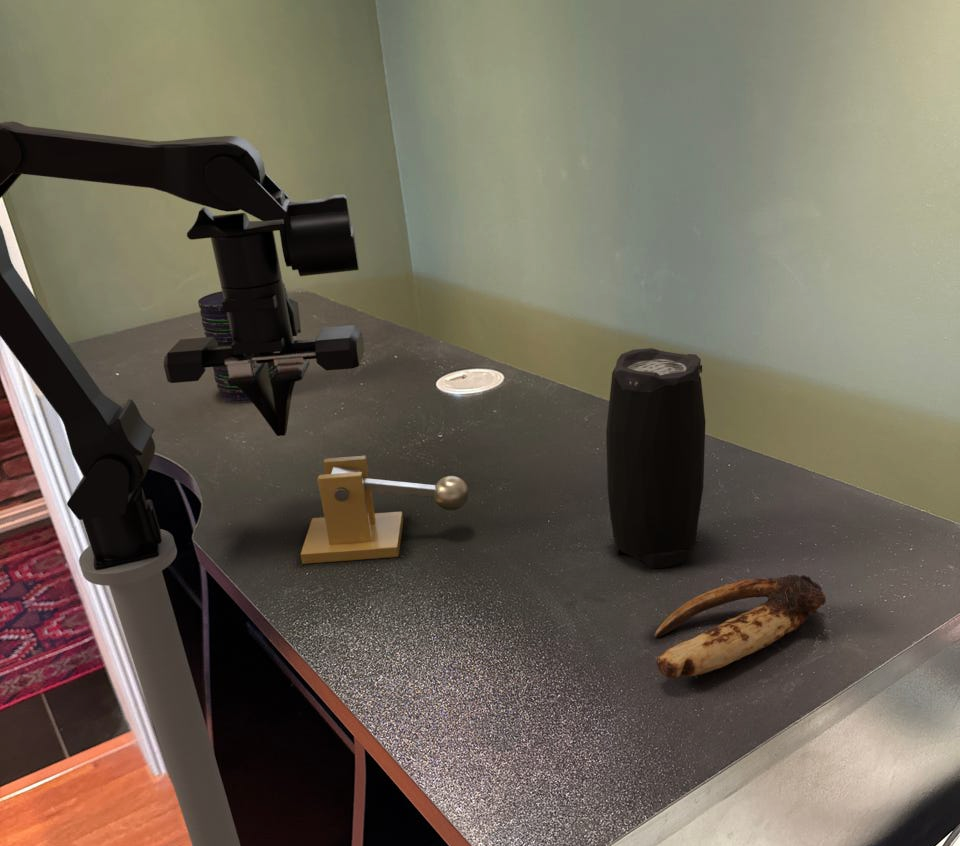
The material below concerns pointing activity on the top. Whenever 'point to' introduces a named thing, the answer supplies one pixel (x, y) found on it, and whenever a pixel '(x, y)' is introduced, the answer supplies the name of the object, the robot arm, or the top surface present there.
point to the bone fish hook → (739, 623)
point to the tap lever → (419, 489)
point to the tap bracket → (350, 519)
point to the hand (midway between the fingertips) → (281, 434)
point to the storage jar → (222, 344)
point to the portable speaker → (655, 454)
